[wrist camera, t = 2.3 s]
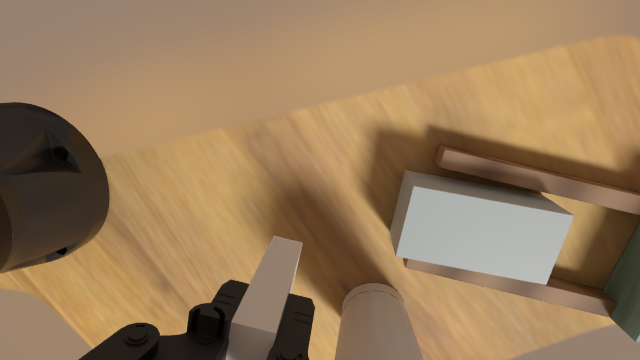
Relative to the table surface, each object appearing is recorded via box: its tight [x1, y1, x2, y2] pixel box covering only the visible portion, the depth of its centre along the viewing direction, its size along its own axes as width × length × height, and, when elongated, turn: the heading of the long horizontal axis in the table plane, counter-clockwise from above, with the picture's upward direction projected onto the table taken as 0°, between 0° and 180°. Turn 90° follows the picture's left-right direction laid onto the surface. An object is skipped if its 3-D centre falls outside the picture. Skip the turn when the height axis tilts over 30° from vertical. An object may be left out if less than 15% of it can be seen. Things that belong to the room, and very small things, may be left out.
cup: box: [335, 283, 424, 360], centre depth 30 cm, size 8×8×12 cm
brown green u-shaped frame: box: [403, 145, 640, 343], centre depth 30 cm, size 20×11×5 cm, turn 77°
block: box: [390, 170, 574, 285], centre depth 30 cm, size 12×6×5 cm, turn 80°
